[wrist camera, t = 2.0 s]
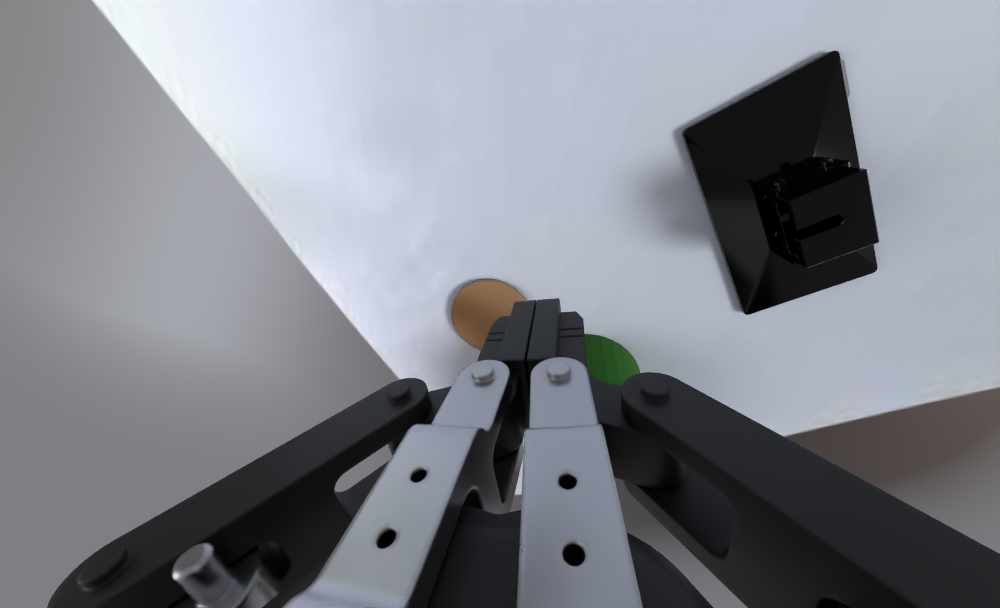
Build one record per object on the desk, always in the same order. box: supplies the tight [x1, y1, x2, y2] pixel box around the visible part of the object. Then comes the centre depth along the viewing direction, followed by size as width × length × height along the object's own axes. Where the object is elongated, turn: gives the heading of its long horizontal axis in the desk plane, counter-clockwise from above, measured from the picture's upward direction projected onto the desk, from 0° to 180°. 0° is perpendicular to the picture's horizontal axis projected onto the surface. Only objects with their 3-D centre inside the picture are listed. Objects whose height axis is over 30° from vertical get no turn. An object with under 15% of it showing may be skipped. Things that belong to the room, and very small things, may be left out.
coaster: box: [451, 279, 526, 350], centre depth 26 cm, size 6×6×1 cm
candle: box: [584, 335, 640, 386], centre depth 23 cm, size 8×8×10 cm
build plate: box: [682, 51, 879, 315], centre depth 18 cm, size 12×7×5 cm, turn 30°
